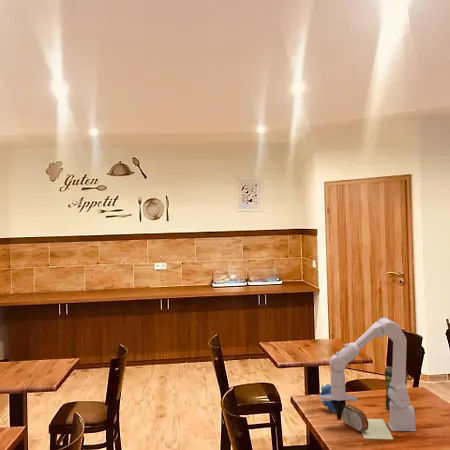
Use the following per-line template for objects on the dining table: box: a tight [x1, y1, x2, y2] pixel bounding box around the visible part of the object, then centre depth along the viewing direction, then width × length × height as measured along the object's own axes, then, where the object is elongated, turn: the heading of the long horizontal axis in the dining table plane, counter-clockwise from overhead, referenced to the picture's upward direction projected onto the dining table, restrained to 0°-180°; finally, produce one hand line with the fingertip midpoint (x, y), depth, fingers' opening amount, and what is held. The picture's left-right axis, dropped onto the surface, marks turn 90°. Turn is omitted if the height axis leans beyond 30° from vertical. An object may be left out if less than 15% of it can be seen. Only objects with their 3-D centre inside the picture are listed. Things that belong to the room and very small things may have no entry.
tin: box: [341, 403, 368, 433], centre depth 199 cm, size 15×3×8 cm, turn 22°
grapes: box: [319, 383, 339, 413], centre depth 218 cm, size 12×7×12 cm, turn 46°
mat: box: [360, 418, 395, 441], centre depth 198 cm, size 11×20×1 cm, turn 174°
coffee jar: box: [384, 366, 409, 411], centre depth 220 cm, size 10×8×19 cm
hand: (339, 418), depth 200 cm, fingers closed
